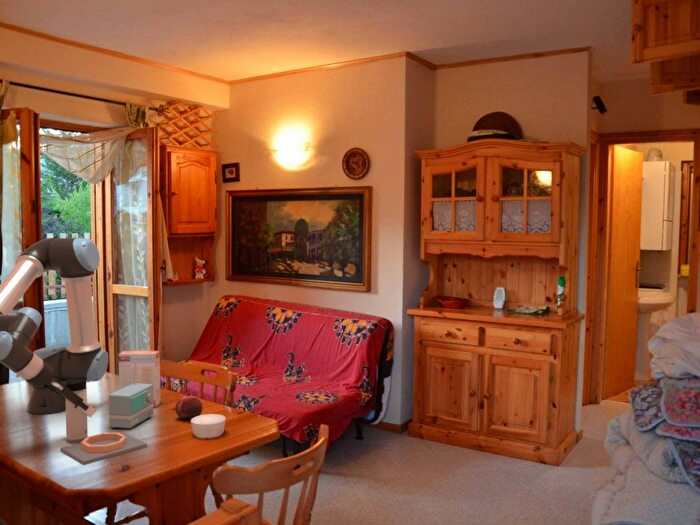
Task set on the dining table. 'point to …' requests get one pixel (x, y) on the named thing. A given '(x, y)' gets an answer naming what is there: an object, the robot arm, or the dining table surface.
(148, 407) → the radio
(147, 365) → the cracker box
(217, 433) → the ramekin
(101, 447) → the mug stand
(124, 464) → the dining table surface
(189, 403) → the fruit
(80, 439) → the travel mug
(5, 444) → the dining table surface
